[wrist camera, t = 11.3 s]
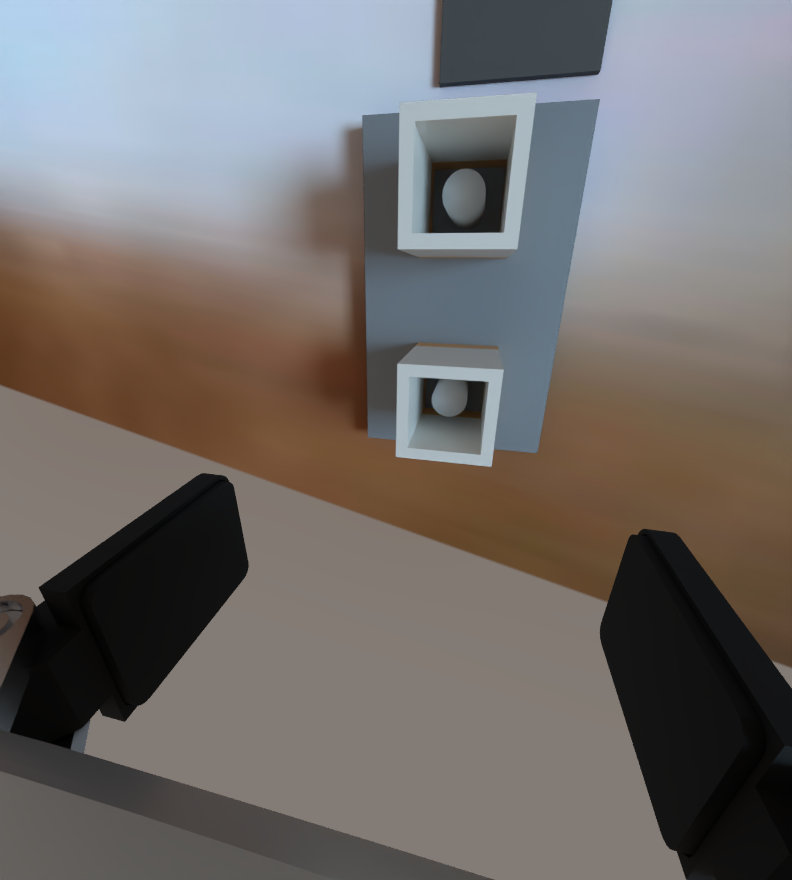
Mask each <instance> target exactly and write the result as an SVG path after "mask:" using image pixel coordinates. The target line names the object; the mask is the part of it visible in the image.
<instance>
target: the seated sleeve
mask: <svg viewBox="0 0 792 880" xmlns="http://www.w3.org/2000/svg"><path fill="white" fill-rule="evenodd" d="M536 96H537V92H535V93H522V94H508V95H495V96H481V97H468V98H454V99H441V100H427V101H414V102H400V106H399V182H398V250H401V251H403V252H406V253H409V254H411V255H414V256H417V257H419V258H508V257H509V256H510V255H511V254H513V253H514V252H515V251H516V250H517V248H518V240H519V232H520V224H521V216H522V208H523V200H524V192H525V184H526V176H527V168H528V160H529V152H530V144H531V136H532V128H533V120H534V112H535V104H536ZM492 167H506V171H505V181H504V190H503V200H502V209H501V219H500V228H499V233H432V224H433V202H434V180H435V170H442V169H465V168H492Z"/></svg>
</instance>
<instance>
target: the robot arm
mask: <svg viewBox="0 0 792 880" xmlns="http://www.w3.org/2000/svg"><path fill="white" fill-rule="evenodd" d="M247 571H248V559H247V553H246V548H245V543H244V538H243V533H242V527H241V522H240V517H239V511H238V506H237V501H236V496H235V491H234V487H233V484H232V483H230V482H229V480H228V479H227V477H225V476H222V475H214V474H206V473H205V474H204V473H203V474H200V475H198V476H196V477H195V478H193V479H192V480H191V481H189V482H188V483H187V484H185V485H184V486H182V487H181V488H179V489H178V490H176V491H175V492H174V493H172V494H171V495H169V496H168V497H166V498H165V499H164V500H162V501H161V502H159V503H158V504H157V505H155V506H154V507H152V508H151V509H149V510H148V511H147V512H145V513H144V514H142V515H141V516H139V517H138V518H137V519H135V520H134V521H132V522H131V523H130V524H128V525H127V526H125V527H124V528H122V529H121V530H120V531H118V532H117V533H115V534H114V535H112V536H111V537H110V538H108V539H107V540H106V541H104V542H102V543H101V544H100V545H98V546H97V547H95V548H94V549H92V550H91V551H90V552H88V553H87V554H85V555H84V556H83V557H81V558H80V559H78V560H77V561H75V562H74V563H73V564H71V565H70V566H68V567H67V568H66V569H64V570H63V571H61V572H60V573H58V574H57V575H56V576H54V577H53V578H51V579H50V580H48V581H47V582H46V583H44V584H43V585H41V586H40V587H39V589H40V591H41V593H42V595H43V597H44V599H45V601H43V602H42V603H41V604H39V605H38V606H37V607H36V606H35V604H34V602H33V601H32V599H31V598H30V597H28V596H25V595H6V596H1V597H0V880H493V879H490V878H487V877H484V876H481V875H477V874H474V873H471V872H468V871H465V870H461V869H458V868H455V867H452V866H449V865H445V864H442V863H439V862H436V861H433V860H429V859H426V858H423V857H420V856H417V855H414V854H410V853H407V852H404V851H401V850H397V849H394V848H391V847H388V846H385V845H381V844H378V843H375V842H372V841H369V840H365V839H362V838H359V837H356V836H352V835H349V834H346V833H343V832H339V831H336V830H333V829H330V828H326V827H323V826H320V825H317V824H314V823H310V822H307V821H304V820H301V819H297V818H294V817H291V816H287V815H284V814H281V813H278V812H275V811H271V810H268V809H265V808H261V807H258V806H255V805H252V804H248V803H245V802H242V801H239V800H235V799H232V798H229V797H226V796H222V795H219V794H216V793H213V792H209V791H206V790H203V789H200V788H196V787H193V786H190V785H186V784H183V783H180V782H177V781H173V780H170V779H167V778H163V777H160V776H156V775H153V774H149V773H147V772H143V771H140V770H136V769H133V768H130V767H126V766H123V765H120V764H116V763H113V762H110V761H107V760H103V759H100V758H96V757H93V756H90V755H87V754H84V750H85V744H86V739H87V734H88V729H89V724H90V718H91V717H92V716H93V715H94V714H95V713H96V711H98V709H100V711H101V713H102V715H103V716H106V717H110V718H113V719H117V720H121V721H126V720H127V718H128V717H129V716H130V715H131V713H132V712H133V711H134V710H135V708H136V707H137V706H139V705H141V704H143V703H145V702H146V701H147V700H148V699H149V698H150V697H151V696H152V694H153V693H154V692H155V690H156V689H157V688H158V687H159V685H160V684H161V683H162V681H163V680H164V679H165V678H166V677H167V675H168V674H169V673H170V672H171V670H172V669H173V668H174V666H175V665H176V664H177V663H178V661H179V660H180V659H181V658H182V656H183V655H184V654H185V652H186V651H187V650H188V649H189V647H190V646H191V645H192V643H193V642H194V641H195V640H196V639H197V637H198V636H199V635H200V634H201V632H202V631H203V630H204V628H205V627H206V626H207V625H208V623H209V622H210V621H211V620H212V618H213V617H214V616H215V614H216V613H217V612H218V611H219V609H220V608H221V607H222V606H223V604H224V603H225V602H226V601H227V599H228V598H229V597H230V595H231V594H232V593H233V592H234V590H235V589H236V588H237V587H238V585H239V584H240V583H241V582H242V580H243V579H244V578H245V576H246V574H247ZM600 639H601V643H602V647H603V650H604V653H605V656H606V659H607V663H608V666H609V669H610V672H611V675H612V679H613V682H614V685H615V688H616V692H617V694H618V698H619V701H620V704H621V707H622V710H623V714H624V717H625V720H626V723H627V727H628V730H629V732H630V736H631V739H632V742H633V746H634V749H635V752H636V755H637V758H638V761H639V765H640V768H641V771H642V774H643V777H644V781H645V784H646V787H647V790H648V793H649V796H650V800H651V803H652V806H653V809H654V812H655V816H656V819H657V822H658V825H659V828H660V831H661V834H662V837H663V839H664V841H665V843H666V845H667V846H668V847H669V848H670V849H672V850H674V851H677V853H678V856H679V859H680V862H681V865H682V868H683V871H684V874H685V877H686V879H687V880H792V688H791V687H790V686H789V684H788V683H787V682H786V680H785V679H784V678H783V676H782V675H781V674H780V672H779V671H778V669H777V668H776V667H775V665H774V664H773V663H772V661H771V660H770V659H769V657H768V656H767V655H766V653H765V652H764V650H763V649H762V648H761V646H760V645H759V644H758V642H757V641H756V640H755V638H754V637H753V636H752V634H751V633H750V632H749V630H748V629H747V627H746V626H745V625H744V623H743V622H742V621H741V619H740V618H739V617H738V615H737V614H736V613H735V611H734V610H733V609H732V607H731V606H730V604H729V603H728V602H727V600H726V599H725V598H724V596H723V595H722V594H721V592H720V591H719V590H718V588H717V587H716V585H715V584H714V583H713V581H712V580H711V579H710V577H709V576H708V575H707V573H706V572H705V571H704V569H703V568H702V567H701V565H700V564H699V562H698V561H697V560H696V558H695V557H694V556H693V554H692V553H691V552H690V550H689V549H688V548H687V546H686V545H685V544H684V542H683V541H682V539H681V538H680V537H679V536H678V535H677V534H676V533H673V532H665V531H657V530H649V529H643V530H641V531H640V532H639V534H638V535H631V536H630V537H629V539H628V542H627V545H626V548H625V551H624V554H623V557H622V560H621V563H620V566H619V570H618V573H617V576H616V579H615V582H614V585H613V588H612V591H611V594H610V597H609V600H608V604H607V607H606V610H605V613H604V616H603V619H602V622H601V626H600Z"/></svg>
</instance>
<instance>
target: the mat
mask: <svg viewBox="0 0 792 880" xmlns="http://www.w3.org/2000/svg"><path fill="white" fill-rule="evenodd" d="M611 6H612V0H443V17H442V39H441V61H440V83H439V84H440V87H446V86H458V85H471V84H483V83H496V82H508V81H521V80H533V79H546V78H558V77H571V76H583V75H596V74H599V72H600V69H601V64H602V58H603V52H604V46H605V40H606V35H607V29H608V23H609V17H610V12H611Z"/></svg>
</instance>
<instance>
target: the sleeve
mask: <svg viewBox="0 0 792 880" xmlns="http://www.w3.org/2000/svg"><path fill="white" fill-rule="evenodd" d="M503 372H504V369H503V365H502V361H501V357H500V353H499V349H498V346H485V345H464V344H442V343H421V342H419V343H418V344H417V345H416V346H415V347H414V348H413V349H412V350H411V351H410V352H409V353H408V354H407V355H406V356H405V357H404V358H403V359H402V360H401V361H400V362H399V363H398V364H397V417H396V457H403V458H412V459H422V460H431V461H441V462H451V463H460V464H470V465H480V466H489V467H491V466H492V458H493V450H494V442H495V434H496V427H497V419H498V411H499V403H500V395H501V387H502V380H503ZM426 378H438V379H454V380H470V381H484V388H483V397H482V406H481V412H477V411H464V410H463V411H462V412H461V413H460V414H458V415H456V416H453V417H446V416H443V415H441V414H439V413H438V412H437V411H436V410H435V409H434V408H425V399H426Z"/></svg>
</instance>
